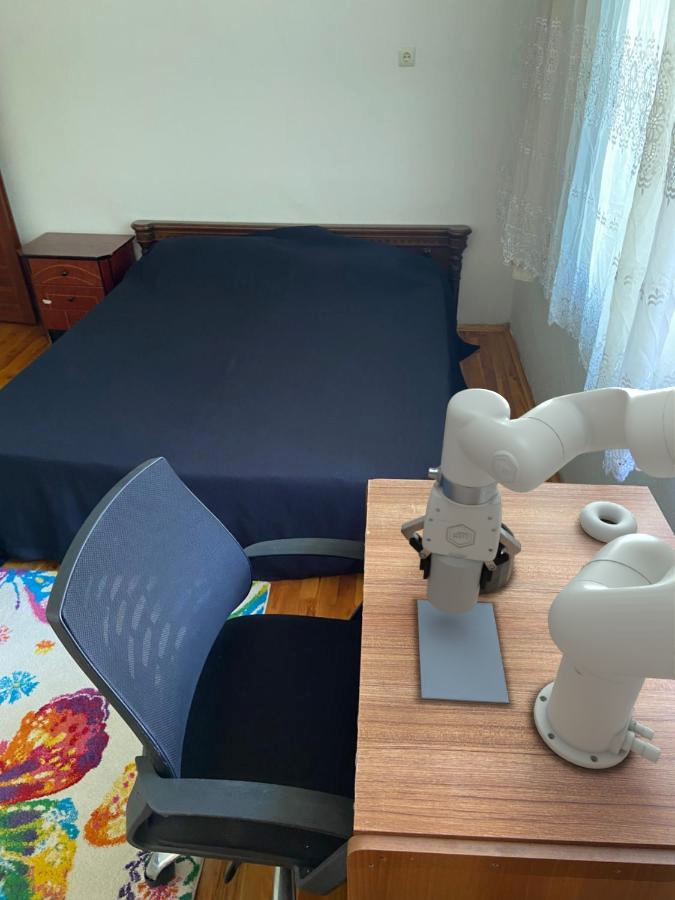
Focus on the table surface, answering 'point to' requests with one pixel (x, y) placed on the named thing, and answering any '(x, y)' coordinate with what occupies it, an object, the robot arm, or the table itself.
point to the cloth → (460, 655)
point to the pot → (500, 570)
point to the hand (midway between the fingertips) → (454, 577)
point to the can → (453, 583)
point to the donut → (609, 512)
